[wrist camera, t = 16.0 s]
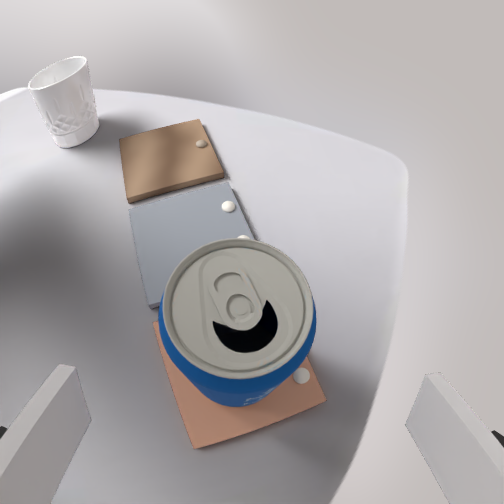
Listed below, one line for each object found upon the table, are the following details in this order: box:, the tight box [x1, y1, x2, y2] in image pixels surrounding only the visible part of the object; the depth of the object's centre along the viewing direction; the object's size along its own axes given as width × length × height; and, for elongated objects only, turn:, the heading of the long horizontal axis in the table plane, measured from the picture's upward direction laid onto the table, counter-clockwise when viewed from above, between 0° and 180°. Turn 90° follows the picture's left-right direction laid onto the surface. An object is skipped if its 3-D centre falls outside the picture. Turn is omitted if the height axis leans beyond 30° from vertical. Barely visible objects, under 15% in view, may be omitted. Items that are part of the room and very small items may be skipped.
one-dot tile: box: [119, 119, 224, 203], centre depth 33 cm, size 10×10×1 cm
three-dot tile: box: [153, 321, 327, 449], centre depth 22 cm, size 10×10×1 cm
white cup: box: [28, 56, 99, 148], centre depth 31 cm, size 8×8×10 cm
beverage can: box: [158, 238, 316, 407], centre depth 17 cm, size 6×6×12 cm
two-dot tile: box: [129, 182, 255, 309], centre depth 27 cm, size 10×10×1 cm
